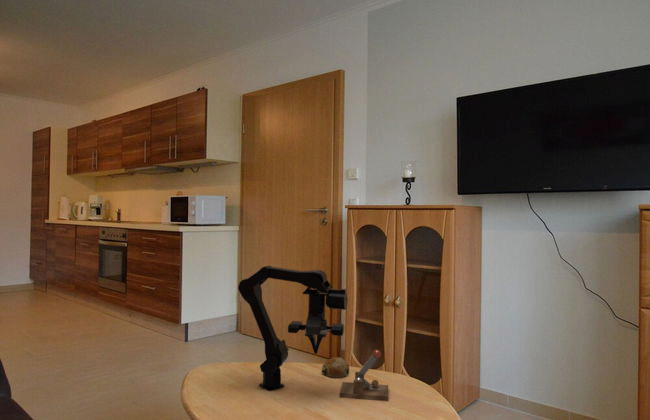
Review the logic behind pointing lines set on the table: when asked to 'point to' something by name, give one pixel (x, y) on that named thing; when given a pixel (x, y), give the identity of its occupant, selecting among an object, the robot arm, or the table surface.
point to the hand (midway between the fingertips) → (315, 353)
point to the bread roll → (335, 368)
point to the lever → (367, 367)
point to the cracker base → (364, 390)
